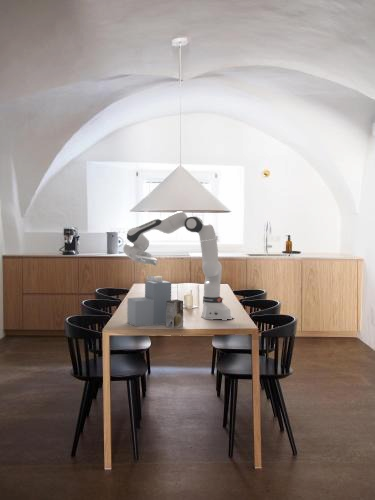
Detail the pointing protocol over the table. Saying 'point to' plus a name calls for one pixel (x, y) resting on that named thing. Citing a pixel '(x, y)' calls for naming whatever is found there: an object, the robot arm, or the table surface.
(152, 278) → the long bar
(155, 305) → the stepped stand
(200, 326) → the table surface
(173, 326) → the coffee box
